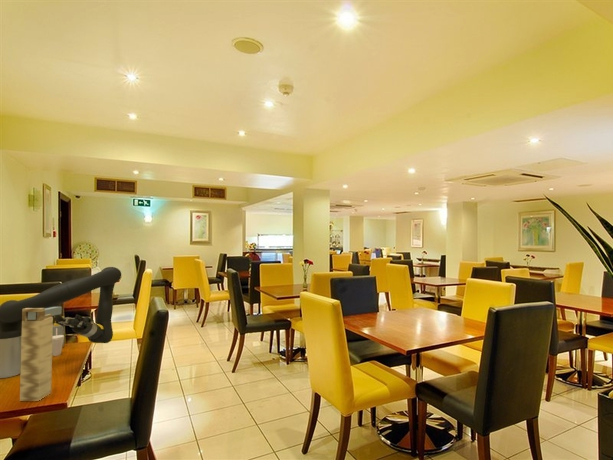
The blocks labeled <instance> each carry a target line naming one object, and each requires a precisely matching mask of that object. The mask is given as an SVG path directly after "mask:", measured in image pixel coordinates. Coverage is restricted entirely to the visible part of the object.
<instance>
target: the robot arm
mask: <svg viewBox="0 0 613 460" xmlns="http://www.w3.org/2000/svg"><path fill="white" fill-rule="evenodd" d="M121 278H122V271H121V270H120V269H119V268H117V267H114V266H108V267H105V268H103V269H101V271H98V272H96V273H94V274H91V275H88V276H85V277H80V278H75V279H72V280H68V281H65V282H63V283H58V284H55V285H54V286H51V287H49V288H47V289H45V290H43V291H41V292H40V293H38V294H35V295H33V296H29V297H27V298H24V299H20V300H16V299H14V300H13V299H11V300H6V301H4V302H3V303H1V304H0V379H6V378H11V377H15V376H17V375H21V339H22V309H25V308H51V307H56V306H58V305H61V304H64V303H67V302H68V301H71V300H73V299H76V298H78V297H81V296H83V295H85V294H88V293H90V292H92V291H94V290H97V289H99V298H98V304H97V310H96V316H95V317H96V318H95V320H93V319H92V318H91V317H89V316H82V315H80V314H76V315H75V317H69V316H67V317H65V316H64V317H62V315H61V314H58V315H54V316H55V317H54V320H55V321H56V322H55V321H54V323H56V324H59V325H61V326H64V327H65V326H67V327H68V326H69V327H70V328H71V330H72V332H74V333H75V334H78V335H80V336H82V337H85V338H87V339H88V341H89V342H90V343H94V344H108V343H110V342H111V341H112V339H113V337H114V331H113V325H112V318H113V317H112V316H113V309H114V307H113V306H114V305H113V304H114V302H113V301H114V300H113V298H114V295H113V294H114V289H115V285H116V283H118V282H119V281H120V280H121ZM101 327H102V328H101Z"/></svg>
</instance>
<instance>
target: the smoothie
mask: <svg viewBox="0 0 613 460" xmlns="http://www.w3.org/2000/svg"><path fill="white" fill-rule="evenodd" d="M63 338H64V339H65V334H64V335H57V328H56V336H52V357H58V356H61V354H62V349H63V348H62V344H63Z"/></svg>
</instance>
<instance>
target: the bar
mask: <svg viewBox="0 0 613 460" xmlns="http://www.w3.org/2000/svg"><path fill="white" fill-rule="evenodd" d="M62 308H63V307H62V306H52V307H49V308H45V315H47V314H52V317H54V316H56V315H62V312H63V311H62V310H63V309H62ZM27 320H37V312H28V319H27Z"/></svg>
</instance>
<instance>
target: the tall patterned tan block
mask: <svg viewBox="0 0 613 460" xmlns="http://www.w3.org/2000/svg"><path fill="white" fill-rule="evenodd" d="M28 312H37V320H27V319H28ZM53 325H54V316H52V314H47V315H45V308H25V309H22V339H21V373H20V375H19V377H20V378H19V380H20V381H19V382H20V385H19V402H20V401H39V400H40V401H42V400H43V399H42V398H44V397H45V396H47V395H48V396H49V394H50V395H51V394H52V376H53V375H52V371H53V368H52V367H53V365H52V364H53V356H52V334H53ZM48 396H47V397H48ZM45 398H46V397H45ZM45 398H44V399H45ZM41 399H42V400H41ZM40 401H39V402H40Z"/></svg>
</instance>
